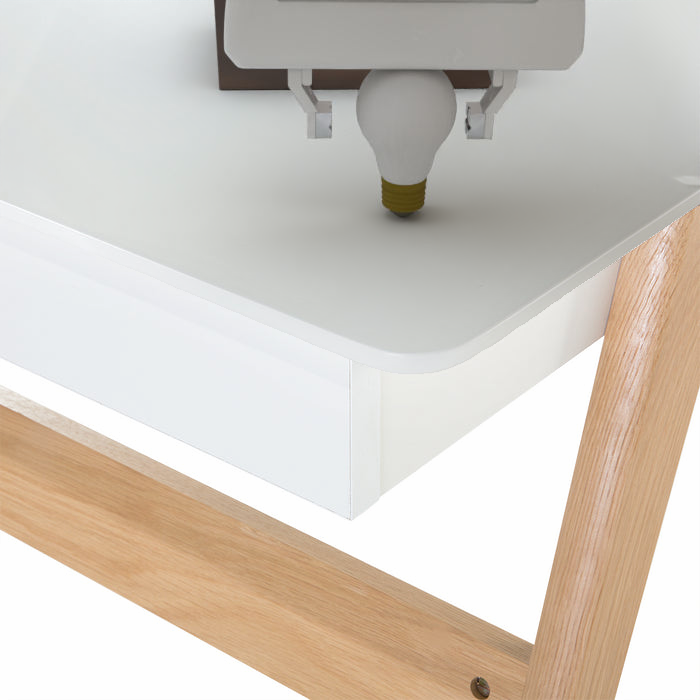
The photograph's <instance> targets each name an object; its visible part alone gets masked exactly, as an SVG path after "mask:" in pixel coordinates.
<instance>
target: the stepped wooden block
mask: <svg viewBox="0 0 700 700" xmlns="http://www.w3.org/2000/svg"><path fill="white" fill-rule="evenodd" d="M213 7H214V25H215V42H216V56H217V57H216V58H217V59H216V61H217V75H218V90H220V91H221V90H222V91H223V90H290V88H289V87H288V69H255V68H239V67H237V66H236V65H235V64H234V63H233V61H232V60H231V59H230V58H229V57H228V55H227V54H226V53H225V50H224V20H225V7H226V0H213ZM371 70H372V69H312V84H311V85H310V87H311V89H312V90H359V89H360V87H361V84H362V82H363V81H364V79H365V78H366V76H367V75H368V74H369V73H370V71H371ZM442 71H443V72H444V73H445V74H446V76H447V77H448V79H449V80H450V82H451V84H452V86H453V88H454V89H488V88H489V87H490V85H491V84H492V82H491V78H490V75H489V72H488V70H442Z"/></svg>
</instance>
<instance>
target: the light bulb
mask: <svg viewBox="0 0 700 700" xmlns="http://www.w3.org/2000/svg"><path fill="white" fill-rule="evenodd" d="M455 91H456V90H455V88H453V86H452V84H451V82H450V80H449V79H448V77H447V76H446V74H445V73H444V72H443V71H442V70H409V69H372V70H371V71H370V73H369V74H368V75H367V76H366V78H365V79H364V81H363V82H362V84H361V87H360V89H358V92H357V96H356V102H355V105H356V106H355V113H356V120H357V124H358V126H359V130H360V131H361V133H362V135H363V137H364V138H365V140H366V142H367V143H368V144H369V146H370V148H371V150H372V152H373V153H374V156H375V161H376V165H377V168H378V172H379V174H380V181H381V182H380V183H381V184H380V185H381V204H382V206H383V207H384V208H385V209H387V210H389V211H390V212H391V213H392V214H394V215H396V216H398V217H401V218H402V217H409V216H410V215H412V214H413V213H414V212H417V211H419V210H420V209H423V207H424V205H425V199H426V190H427V183H428V182H427V181H428V175H429V174H430V172H431V169H432V167H433V164H434V160H435V157H436V154H437V153H438V151H439V149H440V148H441V146H442V145H443V144H444V143H445V142H446V140H447V138H448V137H449V135H450V134H451V132H452V130H453V127H454V125H455V122H456V118H457V113H458V111H457V110H458V106H457V105H458V103H457V96H456V92H455Z"/></svg>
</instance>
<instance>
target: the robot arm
mask: <svg viewBox="0 0 700 700" xmlns="http://www.w3.org/2000/svg"><path fill="white" fill-rule="evenodd" d="M585 34H586V0H226V7H225V20H224V50H225V53H226V54H227V55H228V57H229V58H230V59H231V60H232V61H233V63H234V64H235V65H236V66H237V67H239V68H255V69H288V87H289V88H290V89H289V90H290V91H291V93H292V95H293V96H294V98H295V99H296V101H297V102H298V104H299V105H300V107H301V109H302V110H303V112H304V113H306V140H307V139H309V140H318V139H321V140H322V139H323V140H324V139H332V138H333V126H332V125H333V108H332V107H333V104H332V103H333V102H332V101H331V100H318V98H317V96H316V94H315V92H314V91H313V88H312V89H311V87H310V85H311V84H312V69H409V70H488V72H489V75H490V78H491V82H492V84H491V85H490V87H489V88H487V89H486V91H485V93H484V94H483V96H482V97H481V99H480V100H479V101H466V104H465V115H466V118H465V119H464V134H465V136H466V140H489V141H490V140H492V139H493V135H494V124H495V123H494V122H495V115H496V114H498V112H499V111H500V110H501V109H502V107H503V106H504V105H505V103H506V102H507V100H509V98H510V96H511V95H512V94H513V93H514V91H515V89H516V88H517V82H518V73H519V71H557V72H559V71H567V70H569V69H570V68H571V67H572V66H573V65H574V64H575V63H576V62H577V61H578V60H579V58H580V57H581V56H582V55H583V52H584V47H585Z"/></svg>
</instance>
